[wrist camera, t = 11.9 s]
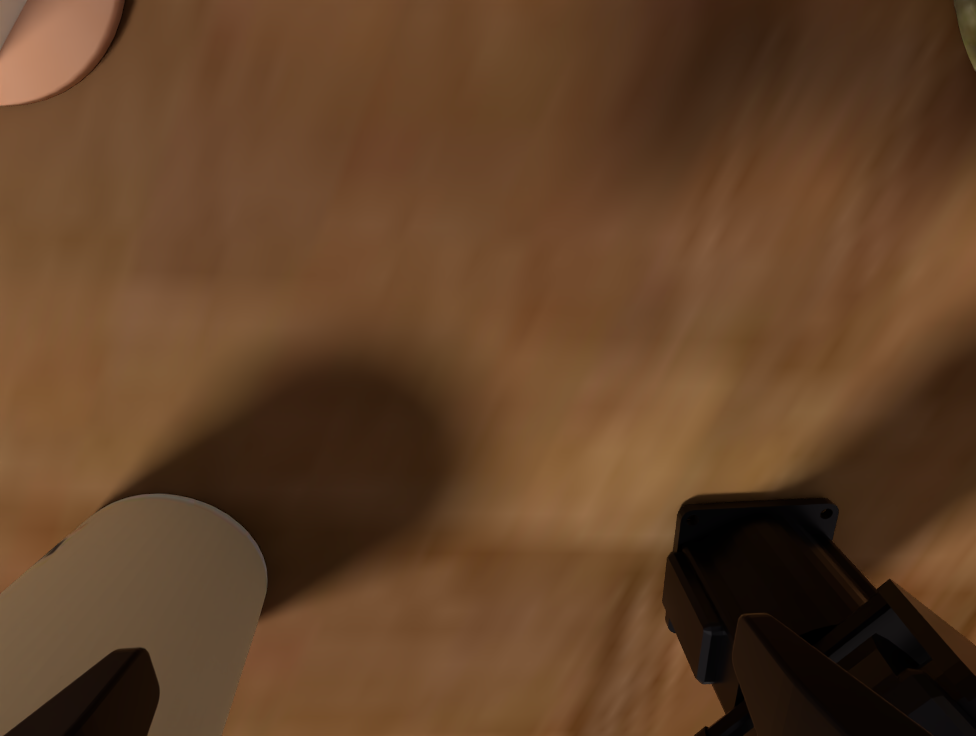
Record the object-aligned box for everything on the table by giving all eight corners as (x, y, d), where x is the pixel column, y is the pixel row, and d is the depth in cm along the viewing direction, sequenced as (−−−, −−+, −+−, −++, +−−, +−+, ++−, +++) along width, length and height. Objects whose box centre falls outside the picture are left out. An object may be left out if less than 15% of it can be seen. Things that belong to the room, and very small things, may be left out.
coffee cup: (55, 449, 22) (-377, 782, 10) (306, 502, 23) (163, 845, 12) (50, 634, 25) (-284, 1040, 14) (271, 671, 26) (132, 1068, 15)
